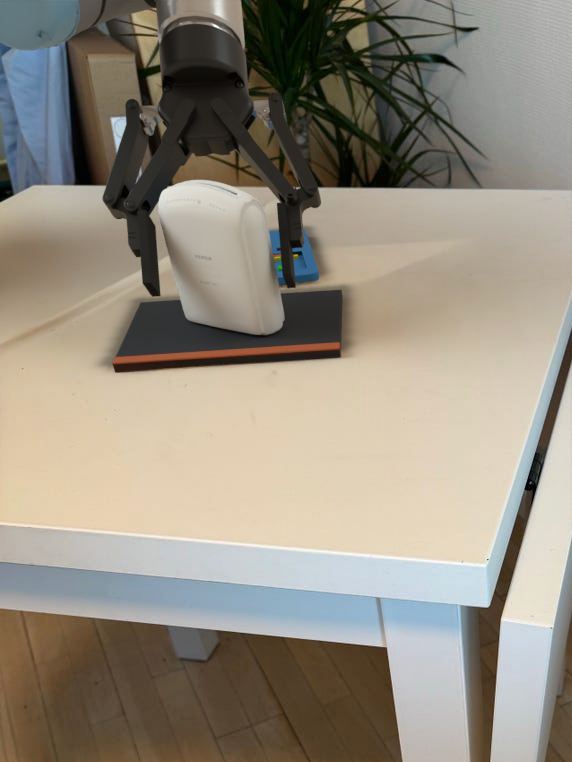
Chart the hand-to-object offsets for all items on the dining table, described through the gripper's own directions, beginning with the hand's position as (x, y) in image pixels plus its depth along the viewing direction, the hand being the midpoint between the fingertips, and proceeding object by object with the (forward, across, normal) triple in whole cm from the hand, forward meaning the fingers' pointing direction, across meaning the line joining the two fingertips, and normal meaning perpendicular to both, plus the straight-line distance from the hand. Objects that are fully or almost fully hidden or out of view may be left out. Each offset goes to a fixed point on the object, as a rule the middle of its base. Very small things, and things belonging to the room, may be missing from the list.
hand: (220, 285), depth 80 cm
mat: (+2, 0, -6) cm, 6 cm away
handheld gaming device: (-11, -2, -19) cm, 22 cm away
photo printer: (+1, 0, -5) cm, 5 cm away
